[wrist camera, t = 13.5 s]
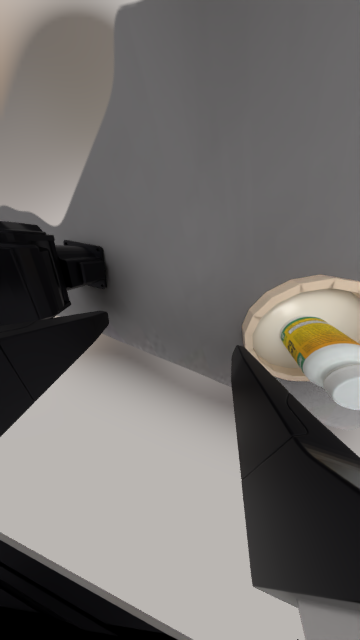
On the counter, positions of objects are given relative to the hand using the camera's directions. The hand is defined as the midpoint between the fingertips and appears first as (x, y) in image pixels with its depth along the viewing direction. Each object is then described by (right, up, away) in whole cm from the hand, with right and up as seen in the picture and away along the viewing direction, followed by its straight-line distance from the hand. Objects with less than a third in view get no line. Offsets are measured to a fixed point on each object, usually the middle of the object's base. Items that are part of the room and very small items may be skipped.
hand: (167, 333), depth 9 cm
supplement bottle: (+18, -1, +10) cm, 20 cm away
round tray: (+18, -1, +11) cm, 21 cm away
